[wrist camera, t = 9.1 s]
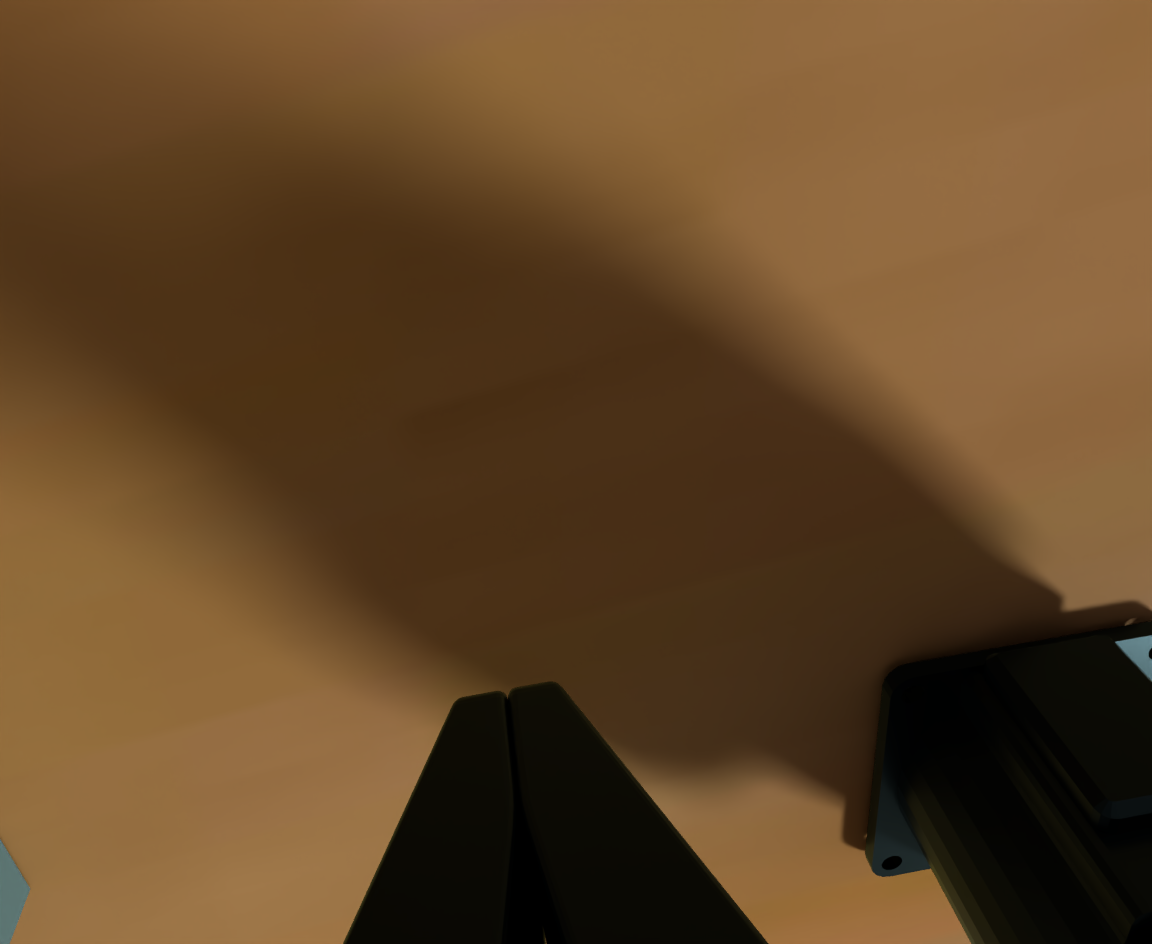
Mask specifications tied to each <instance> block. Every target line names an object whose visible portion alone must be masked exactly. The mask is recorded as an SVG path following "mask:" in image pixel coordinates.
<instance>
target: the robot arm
mask: <svg viewBox="0 0 1152 944" xmlns="http://www.w3.org/2000/svg"><path fill="white" fill-rule="evenodd" d="M909 687H911V688H909ZM907 688H909V689H907ZM865 855H866V858H867V860H868V863H869V865H870V867H871V869H872V871H873V872H874V873H875V874H876V875H878V876H882V877H886V876H894V875H899V874H905V873H910V872H915V871H920V870H925V869H930V868H931V869H932V871H933V873H934V875H935V877H936V878H937V880H938V882H939V884H940V886H941V888H942V890H943V892H944V893H945V895H946V897H947V899H948V901H949V903H950V905H951V906H952V908H953V910H954V912H955V914H956V916H957V918H958V920H959V921H960V923H961V925H962V927H963V929H964V931H965V933H966V934H967V936H968V938H969V940H970V942H971V944H1152V621H1149V622H1144V623H1138V624H1132V625H1126V626H1121V627H1115V628H1109V629H1103V630H1098V631H1092V632H1086V633H1081V634H1075V635H1069V636H1063V637H1058V638H1052V639H1046V640H1041V641H1035V642H1029V643H1023V644H1018V645H1012V646H1006V647H1000V648H995V649H989V650H983V651H978V652H972V653H966V654H960V655H955V656H949V657H943V658H938V659H932V660H926V661H920V662H915V663H909V664H905V665H902V666H899V667H897V668H895V669H894V670H892V671H891V672H890V673H889V674H888V675H887V676H886V678H885V679H884V682H883V685H882V694H881V704H880V714H879V723H878V733H877V743H876V752H875V762H874V772H873V781H872V791H871V801H870V810H869V820H868V830H867V840H866V849H865ZM545 938H546V940H545ZM546 943H547V944H768V943H767V941H766V940H765V939H764V938H763V936H762V935H761V934H760V933H759V931H758V930H757V929H756V928H755V926H754V925H753V924H752V923H751V921H750V920H749V919H748V918H747V916H746V915H745V914H744V913H743V911H742V910H741V909H740V908H739V906H738V905H737V904H736V903H735V902H734V900H733V899H732V898H731V897H730V895H729V894H728V893H727V892H726V890H725V889H724V888H723V887H722V885H721V884H720V883H719V882H718V880H717V879H716V878H715V877H714V875H713V874H712V873H711V872H710V870H709V869H708V868H707V867H706V865H705V864H704V863H703V862H702V860H701V859H700V858H699V857H698V855H697V854H696V853H695V852H694V851H693V849H692V848H691V847H690V846H689V844H688V843H687V842H686V841H685V839H684V838H683V837H682V836H681V834H680V833H679V832H678V831H677V829H676V828H675V827H674V826H673V824H672V823H671V822H670V821H669V819H668V818H667V817H666V816H665V814H664V813H663V812H662V811H661V809H660V808H659V807H658V806H657V804H656V803H655V802H654V801H653V800H652V798H651V797H650V796H649V795H648V793H647V792H646V791H645V790H644V788H643V787H642V786H641V785H640V783H639V782H638V781H637V780H636V778H635V777H634V776H633V775H632V773H631V772H630V771H629V770H628V768H627V767H626V766H625V765H624V763H623V762H622V761H621V760H620V758H619V757H618V756H617V755H616V753H615V752H614V751H613V750H612V749H611V747H610V746H609V745H608V744H607V742H606V741H605V740H604V739H603V737H602V736H601V735H600V734H599V732H598V731H597V730H596V729H595V727H594V726H593V725H592V724H591V722H590V721H589V720H588V719H587V717H586V716H585V715H584V714H583V712H582V711H581V710H580V709H579V707H578V706H577V705H576V704H575V703H574V701H573V700H572V699H571V698H570V696H569V695H568V694H567V693H566V691H565V690H564V689H563V688H562V687H561V686H560V685H559V684H558V683H556V682H553V681H552V682H544V683H539V684H533V685H527V686H522V687H516V688H513V689H512V690H511V691H510V692H509V695H508V699H507V696H506V695H505V694H504V693H503V692H501V691H494V692H488V693H483V694H477V695H472V696H466V697H462V698H459V699H458V700H457V701H455V703H454V704H453V706H452V708H451V709H450V712H449V714H448V716H447V718H446V720H445V722H444V725H443V727H442V729H441V731H440V733H439V736H438V738H437V740H436V742H435V744H434V746H433V749H432V751H431V753H430V755H429V757H428V760H427V762H426V764H425V766H424V768H423V770H422V773H421V775H420V777H419V779H418V781H417V783H416V786H415V788H414V790H413V792H412V794H411V797H410V799H409V801H408V803H407V805H406V807H405V810H404V812H403V814H402V816H401V818H400V821H399V823H398V825H397V827H396V829H395V831H394V834H393V836H392V838H391V840H390V842H389V845H388V847H387V849H386V851H385V853H384V855H383V858H382V860H381V862H380V864H379V866H378V868H377V871H376V873H375V875H374V877H373V879H372V882H371V884H370V886H369V888H368V890H367V892H366V895H365V897H364V899H363V901H362V903H361V906H360V908H359V910H358V912H357V914H356V916H355V919H354V921H353V923H352V925H351V927H350V930H349V932H348V934H347V936H346V938H345V940H344V943H343V944H546Z"/></svg>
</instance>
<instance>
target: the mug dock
mask: <svg viewBox="0 0 1152 944" xmlns="http://www.w3.org/2000/svg"><path fill="white" fill-rule="evenodd" d="M29 891H30V888H29V886H28V884H27V883H26V881H25V879H24V878H23V876H22V875H21V873H20V871H19V870H18V868H17V866H16V865H15V863H14V861H13V860H12V858H11V856H10V855H9V853H8V851H7V850H6V848H5V847H4V845H3V843H2V842H1V840H0V944H10V941H11V938H12V936H13V933H14V930H15V928H16V925H17V922H18V920H19V917H20V915H21V912H22V909H23V907H24V904H25V901H26V899H27V896H28V893H29Z"/></svg>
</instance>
